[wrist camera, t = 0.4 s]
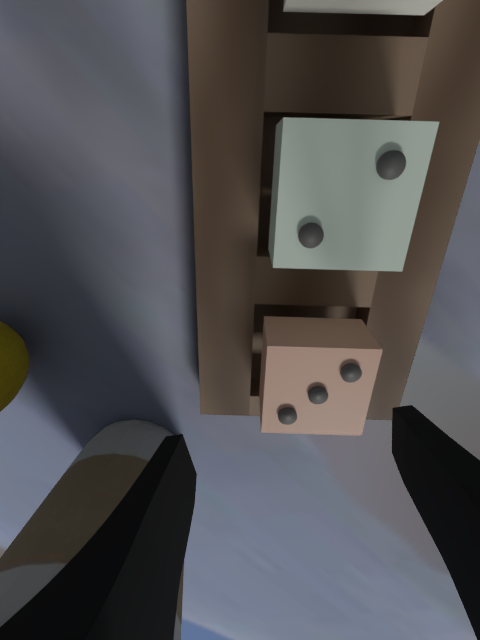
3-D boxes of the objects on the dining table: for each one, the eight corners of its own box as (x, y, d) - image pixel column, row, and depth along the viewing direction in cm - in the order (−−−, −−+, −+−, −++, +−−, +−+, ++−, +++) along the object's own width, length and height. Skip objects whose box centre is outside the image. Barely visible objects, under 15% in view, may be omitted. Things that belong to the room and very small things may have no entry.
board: (553, -232, 11) (614, -309, 9) (383, 399, 22) (395, 420, 21) (186, -241, 11) (175, -319, 9) (204, 393, 22) (200, 414, 21)
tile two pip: (400, 128, 13) (442, 121, 10) (375, 251, 16) (404, 273, 13) (275, 125, 13) (284, 116, 11) (268, 248, 16) (273, 269, 13)
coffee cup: (55, 485, 27) (-139, 819, 13) (71, 375, 22) (-206, 722, 8) (192, 517, 28) (142, 847, 15) (235, 420, 23) (220, 777, 10)
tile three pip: (361, 319, 17) (384, 352, 14) (345, 396, 19) (362, 438, 16) (263, 316, 17) (267, 348, 14) (258, 394, 19) (261, 435, 16)
